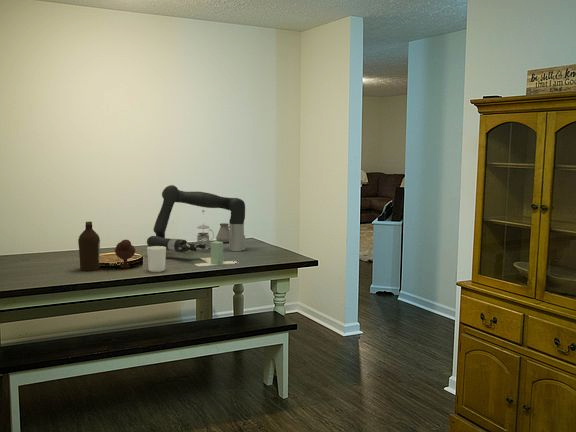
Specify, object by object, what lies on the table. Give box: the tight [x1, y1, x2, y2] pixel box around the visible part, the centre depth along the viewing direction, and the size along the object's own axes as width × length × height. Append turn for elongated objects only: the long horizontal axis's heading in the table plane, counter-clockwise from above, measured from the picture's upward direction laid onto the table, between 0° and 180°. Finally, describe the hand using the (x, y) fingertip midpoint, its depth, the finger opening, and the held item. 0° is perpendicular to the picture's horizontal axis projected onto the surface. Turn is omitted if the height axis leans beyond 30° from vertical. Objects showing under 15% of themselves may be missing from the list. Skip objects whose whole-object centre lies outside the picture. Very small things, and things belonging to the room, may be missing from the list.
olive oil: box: [77, 221, 101, 272], centre depth 294 cm, size 11×11×25 cm
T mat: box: [194, 256, 238, 267], centre depth 322 cm, size 22×24×1 cm
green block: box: [210, 240, 224, 266], centre depth 315 cm, size 5×5×12 cm
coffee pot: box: [215, 222, 229, 242], centre depth 386 cm, size 21×12×15 cm, turn 31°
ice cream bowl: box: [114, 239, 136, 269], centre depth 302 cm, size 11×11×15 cm
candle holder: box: [146, 246, 167, 273], centre depth 295 cm, size 10×10×12 cm
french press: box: [196, 209, 214, 250], centre depth 364 cm, size 10×12×25 cm
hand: (200, 248), depth 319 cm, fingers open, 8 cm apart
